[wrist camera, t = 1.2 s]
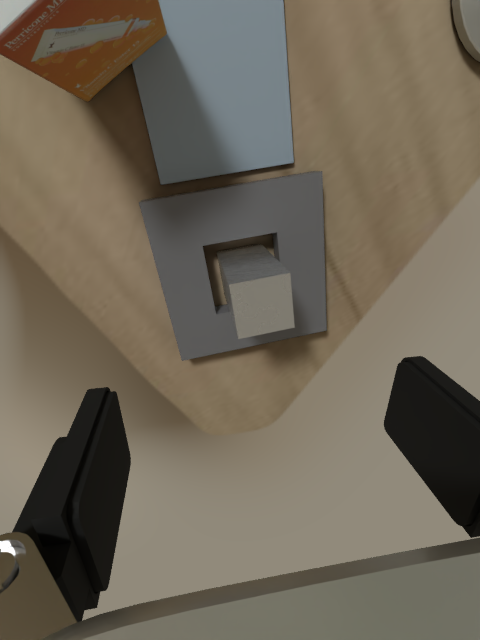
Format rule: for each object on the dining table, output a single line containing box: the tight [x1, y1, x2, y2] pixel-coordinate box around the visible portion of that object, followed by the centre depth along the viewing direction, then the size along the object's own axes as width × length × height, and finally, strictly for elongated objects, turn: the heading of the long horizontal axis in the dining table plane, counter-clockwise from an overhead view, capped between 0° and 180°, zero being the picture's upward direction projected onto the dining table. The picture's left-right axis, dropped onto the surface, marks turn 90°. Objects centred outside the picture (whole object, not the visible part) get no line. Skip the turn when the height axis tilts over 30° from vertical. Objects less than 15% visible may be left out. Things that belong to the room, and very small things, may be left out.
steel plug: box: [217, 244, 295, 339], centre depth 28 cm, size 4×4×10 cm
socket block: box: [139, 171, 327, 361], centre depth 32 cm, size 16×16×2 cm
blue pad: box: [132, 0, 294, 185], centre depth 26 cm, size 12×12×1 cm
